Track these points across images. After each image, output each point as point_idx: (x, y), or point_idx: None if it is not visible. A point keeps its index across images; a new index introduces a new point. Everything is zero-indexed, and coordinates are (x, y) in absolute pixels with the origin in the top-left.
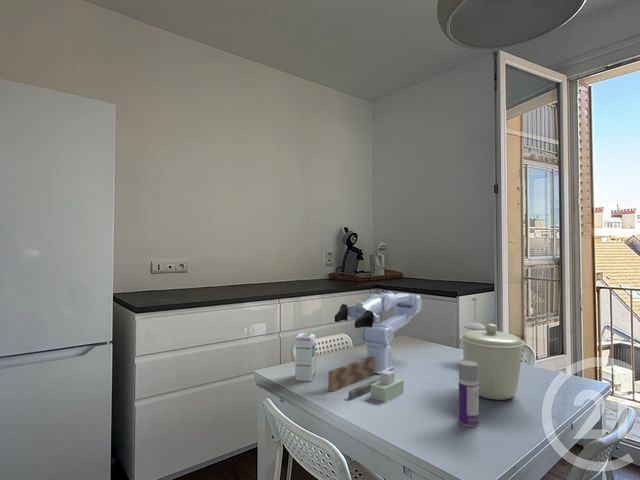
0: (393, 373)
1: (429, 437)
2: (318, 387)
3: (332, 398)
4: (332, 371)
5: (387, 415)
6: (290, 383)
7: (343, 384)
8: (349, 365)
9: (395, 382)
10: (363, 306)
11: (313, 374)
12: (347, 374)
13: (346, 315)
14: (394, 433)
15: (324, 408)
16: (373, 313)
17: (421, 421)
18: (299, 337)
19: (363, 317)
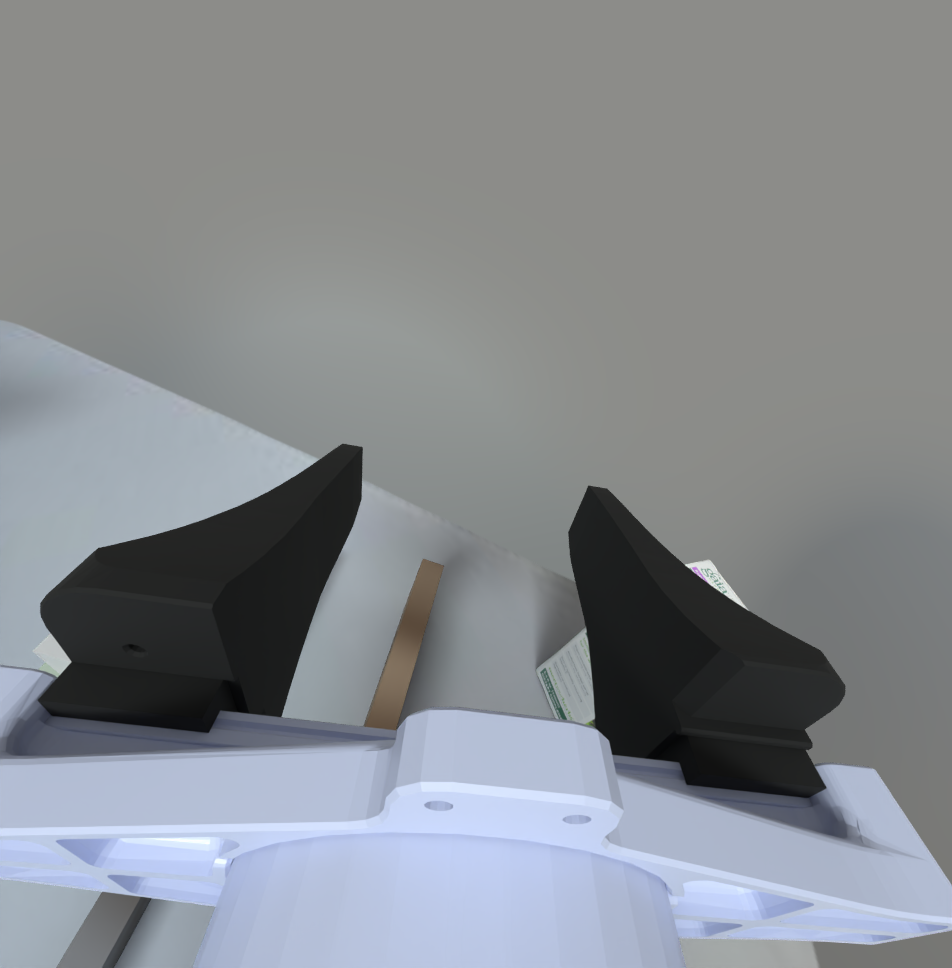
0: (46, 642)
1: (11, 412)
2: (475, 621)
3: (382, 551)
4: (426, 567)
5: (153, 494)
6: (578, 613)
7: (385, 663)
8: (384, 696)
9: (52, 671)
10: (365, 801)
11: (554, 691)
12: (380, 680)
13: (627, 730)
14: (138, 414)
15: (376, 486)
16: (17, 790)
17: (3, 486)
18: (693, 563)
19: (272, 490)
